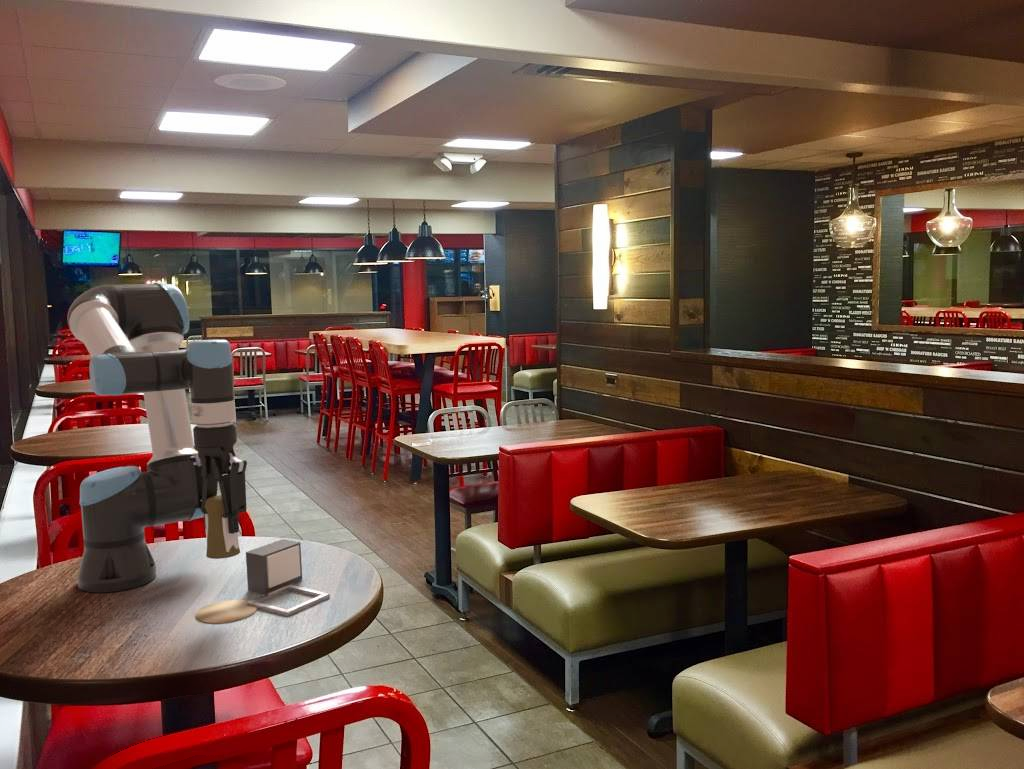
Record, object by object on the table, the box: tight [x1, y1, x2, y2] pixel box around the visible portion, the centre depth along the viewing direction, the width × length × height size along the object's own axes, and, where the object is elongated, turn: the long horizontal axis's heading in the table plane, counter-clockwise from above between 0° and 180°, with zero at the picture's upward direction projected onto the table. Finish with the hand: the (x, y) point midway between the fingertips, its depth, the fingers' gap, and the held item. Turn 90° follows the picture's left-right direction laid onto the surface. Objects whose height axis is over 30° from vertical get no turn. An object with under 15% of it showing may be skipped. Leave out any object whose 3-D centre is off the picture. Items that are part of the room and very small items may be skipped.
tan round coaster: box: [195, 599, 258, 624], centre depth 166 cm, size 11×11×1 cm
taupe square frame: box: [247, 584, 331, 617], centre depth 171 cm, size 11×11×1 cm
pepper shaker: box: [205, 494, 241, 560], centre depth 164 cm, size 6×6×11 cm
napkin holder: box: [245, 538, 303, 595], centre depth 180 cm, size 5×10×8 cm, turn 148°
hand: (223, 547), depth 165 cm, fingers closed on pepper shaker, 4 cm apart
